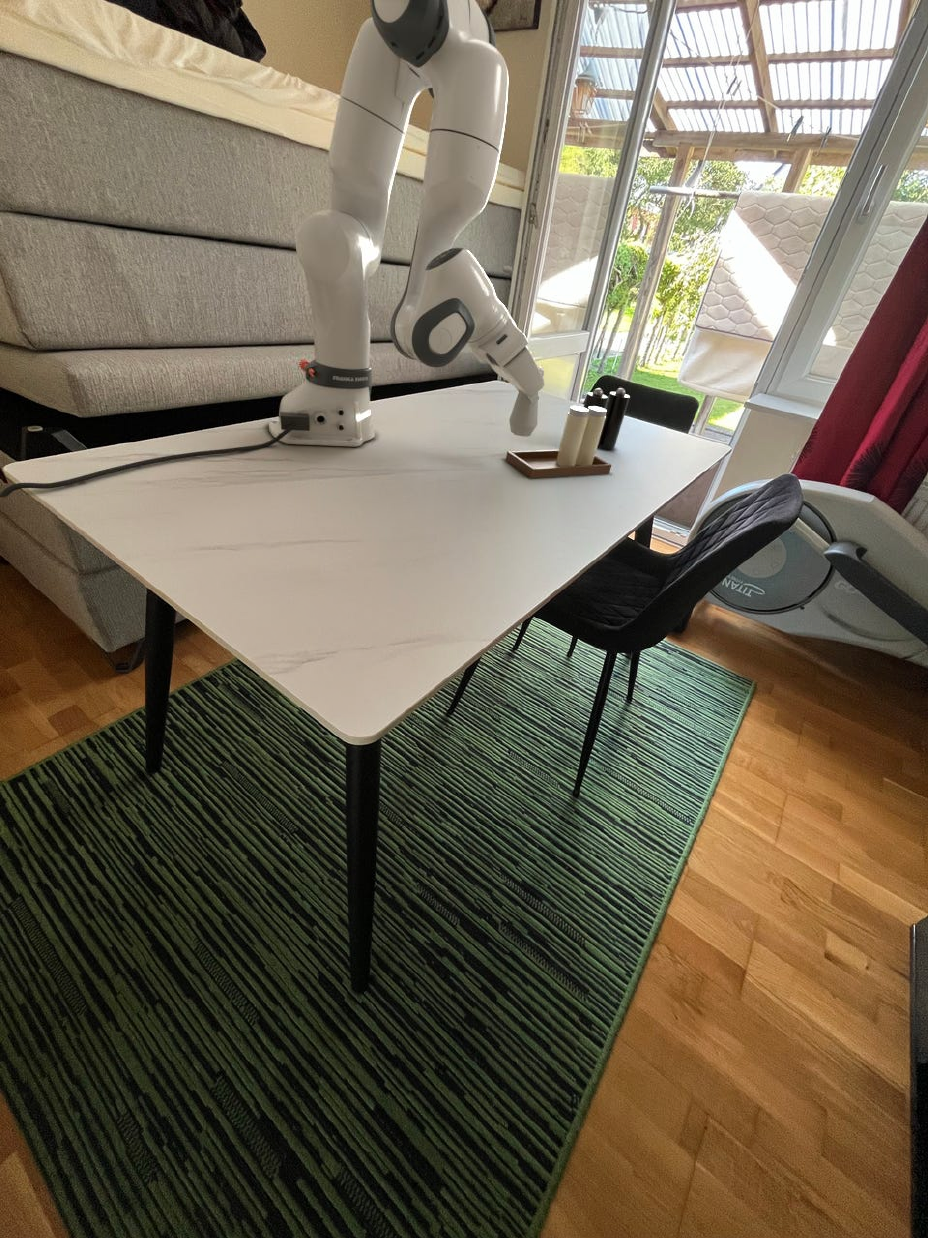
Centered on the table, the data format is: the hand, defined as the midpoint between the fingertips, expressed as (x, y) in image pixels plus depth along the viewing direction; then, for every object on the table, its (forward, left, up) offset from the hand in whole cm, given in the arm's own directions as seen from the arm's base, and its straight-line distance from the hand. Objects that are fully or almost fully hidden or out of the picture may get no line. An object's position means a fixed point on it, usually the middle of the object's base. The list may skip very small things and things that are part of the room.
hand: (530, 397), depth 104 cm
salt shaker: (-1, 0, -7) cm, 7 cm away
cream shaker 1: (+13, -1, -14) cm, 19 cm away
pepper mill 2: (+34, +10, -14) cm, 38 cm away
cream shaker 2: (+18, -1, -14) cm, 23 cm away
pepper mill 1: (+26, +9, -14) cm, 31 cm away
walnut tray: (+10, -1, -14) cm, 18 cm away
